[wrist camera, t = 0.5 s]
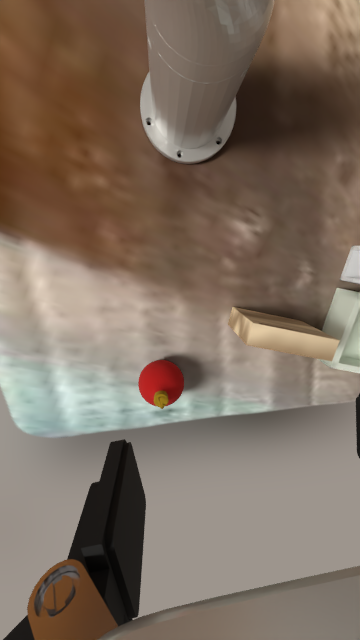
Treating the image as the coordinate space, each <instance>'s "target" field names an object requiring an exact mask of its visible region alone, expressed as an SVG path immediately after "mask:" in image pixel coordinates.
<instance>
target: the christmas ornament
mask: <svg viewBox="0 0 360 640" xmlns="http://www.w3.org/2000/svg"><path fill="white" fill-rule="evenodd" d="M183 388H184V378H183V374H182V372H181V371H180V369H179V368H178V367H177V366H176V365H175V364H174V363H172V362H170V361H167V360H157V361H154V362H151V363H150V364H148V365H147V366H146V367H145V368H144V369H143V371H142V372H141V374H140V377H139V390H140V393H141V395H142V397H143V398H144V399H145V400H146V401H147V402H148V403H150V404H152V405H154V406H158V407H160V408H161V409H163V408H164V406H168V405H170V404H172V403H174V402H175V401H176V400H177V399H178V398H179V397H180V395H181V394H182V391H183Z"/></svg>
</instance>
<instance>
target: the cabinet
mask: <svg viewBox="0 0 360 640" xmlns="http://www.w3.org/2000/svg"><path fill="white" fill-rule="evenodd" d="M340 280H343V281H347V282H351V283H356V284H360V246H352V247H351V250H350V253H349V256H348V259H347V261H346V264H345V267H344V270H343V272H342V275H341V278H340ZM322 332H324V333H326V334H328V335H330V336H332V337H334V338H336V339H338V340H340V342H339V344H338V347H337V349H336V352H335V355H334V357H333V360H332V361H327V360H322V359H318V360H320V361H321V362H323V363H324V364H326V365H327V366H328V367H330V368H334V369H339V370H345V371H350V372H355V373H360V293H359V292H355V291H350V290H345V289H341V288H337V289H336V292H335V295H334V297H333V300H332V303H331V306H330V309H329V311H328V314H327V317H326V320H325V323H324V325H323V328H322Z"/></svg>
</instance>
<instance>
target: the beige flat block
mask: <svg viewBox="0 0 360 640" xmlns="http://www.w3.org/2000/svg"><path fill="white" fill-rule="evenodd" d="M228 325H229V326H230V327H231V328H232V329H233V330H234V332H235V333H236V334H237V335H238V336H239V337H240V338H241V339H242V341H243V342H244V343H245V344H246V345H248V346H253V347H259V348H264V349H269V350H274V351H280V352H285V353H290V354H295V355H301V356H306V357H311V358H316V359H322V360H327V361H332V360H333V357H334V355H335V352H336V349H337V347H338V344H339V342H340V340H338V339H336V338H334V337H332V336H330V335H328V334H326V333H324V332H322V331H320V330H318V329H316V328H314V327H312V326H310V325H308V324H306V323H305V322H303V321H299V320H295V319H290V318H285V317H280V316H275V315H270V314H266V313H261V312H256V311H251V310H246V309H241V308H237V307H233V308H232V311H231V315H230V319H229V323H228Z"/></svg>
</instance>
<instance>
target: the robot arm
mask: <svg viewBox="0 0 360 640" xmlns="http://www.w3.org/2000/svg"><path fill="white" fill-rule="evenodd" d="M274 1H275V0H145V13H146V27H147V41H148V55H149V69H150V71H149V73H148V74H147V77H146V79H145V81H144V83H143V87H142V92H141V99H140V110H141V118H142V123H143V126H144V129H145V132H146V134H147V136H148V138H149V140H150V142H151V143H152V144H153V146H154V147H155V148H156V149H157V150H158V151H159V152H160V153H161V154H162V155H164V156H165V157H167V158H168V159H170V160H172V161H175V162H178V163H183V164H194V163H199V162H202V161H205V160H207V159H209V158H211V157H212V156H214V155H215V154H216V153H217V152H218V151H219V150H220V149H221V148H222V147H223V145H224V144H225V143H226V141H227V139H228V138H229V136H230V134H231V131H232V129H233V127H234V122H235V118H236V107H237V105H236V94H237V92H238V90H239V88H240V85H241V83H242V81H243V79H244V77H245V75H246V73H247V71H248V69H249V66H250V64H251V62H252V60H253V58H254V56H255V54H256V52H257V49H258V47H259V45H260V43H261V40H262V38H263V36H264V34H265V32H266V29H267V26H268V24H269V21H270V18H271V14H272V10H273V6H274ZM147 123H151V125H147ZM216 142H219V145H218V144H216ZM179 154H180V155H181V157H180V158H179V157H178V155H179ZM356 422H357V423H356V427H357V453H358V456H359V458H360V394H359V397H357V398H356ZM145 510H146V500H145V494H144V490H143V486H142V482H141V478H140V475H139V471H138V467H137V463H136V460H135V456H134V452H133V448H132V445H131V443H130V442H129V443H127V442H126V441H125V440H120V441H115V442H111V443H110V446H109V449H108V453H107V456H106V460H105V464H104V468H103V471H102V474H101V478H100V481H99V482H95V483H92V484H91V486H90V489H89V492H88V495H87V498H86V501H85V505H84V508H83V511H82V514H81V517H80V521H79V524H78V527H77V530H76V533H75V536H74V540H73V543H72V546H71V549H70V553H69V556H68V559H67V560H64V561H62V562H59V563H57V564H56V565H54V566H53V567H52V568H50V569H49V570H48V571H47V572H46V573H45V574H44V575H43V576H42V577H41V578H40V580H39V581H38V583H37V584H36V585H35V587H34V589H33V591H32V594H31V596H30V598H29V602H28V607H27V612H28V615H27V616H26V617H25V618H24V619H23V620H22V621H21V622H20V623H19V624H18V625H17V626H16V627H15V628H14V629H13V630H12V631H11V632H10V633H9V634H8V635H7V636H6V637H5V638H4V639H3V640H360V566H357V567H352V568H347V569H343V570H337V571H333V572H328V573H324V574H319V575H314V576H309V577H305V578H301V579H296V580H291V581H287V582H282V583H277V584H273V585H268V586H264V587H259V588H255V589H250V590H246V591H241V592H236V593H232V594H228V595H223V596H218V597H214V598H210V599H206V600H202V601H198V602H194V603H190V604H186V605H182V606H177V607H173V608H169V609H165V610H162V611H159V612H155V613H152V614H149V615H146V616H142V617H140V618H137V619H135V620H132V618H135V617H137V616H138V612H139V599H140V585H141V569H142V555H143V540H144V524H145Z"/></svg>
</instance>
